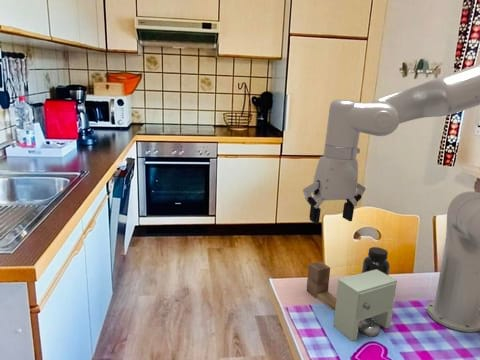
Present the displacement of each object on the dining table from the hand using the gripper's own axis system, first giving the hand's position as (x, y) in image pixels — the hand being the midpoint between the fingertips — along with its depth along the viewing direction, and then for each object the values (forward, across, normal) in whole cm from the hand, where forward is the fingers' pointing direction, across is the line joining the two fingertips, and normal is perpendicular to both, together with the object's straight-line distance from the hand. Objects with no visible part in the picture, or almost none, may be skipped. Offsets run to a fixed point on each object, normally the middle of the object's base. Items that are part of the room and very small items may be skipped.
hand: (330, 220), depth 97 cm
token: (+22, -3, +15) cm, 27 cm away
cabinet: (+22, -3, +13) cm, 25 cm away
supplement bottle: (+22, -16, +1) cm, 27 cm away
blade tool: (+22, -2, +2) cm, 22 cm away
